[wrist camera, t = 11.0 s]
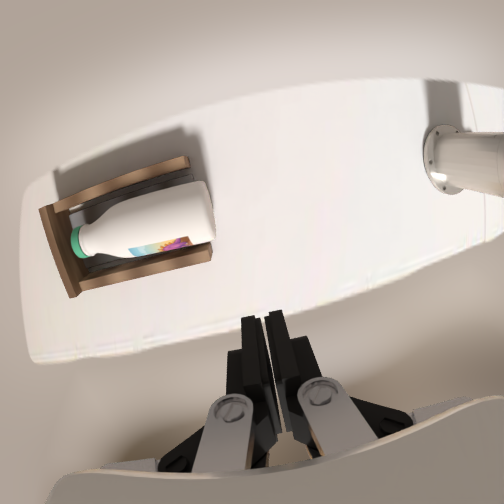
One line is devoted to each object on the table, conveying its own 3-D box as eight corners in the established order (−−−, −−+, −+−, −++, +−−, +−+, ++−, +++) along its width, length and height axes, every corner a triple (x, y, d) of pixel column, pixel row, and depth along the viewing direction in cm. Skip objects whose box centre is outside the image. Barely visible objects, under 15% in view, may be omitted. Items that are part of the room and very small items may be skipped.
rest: (188, 156, 36) (180, 155, 31) (212, 251, 40) (209, 266, 35) (59, 202, 36) (38, 209, 31) (86, 282, 40) (69, 298, 35)
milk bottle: (205, 172, 36) (79, 208, 36) (201, 190, 29) (55, 231, 29) (217, 224, 40) (97, 252, 40) (217, 251, 33) (79, 280, 33)
